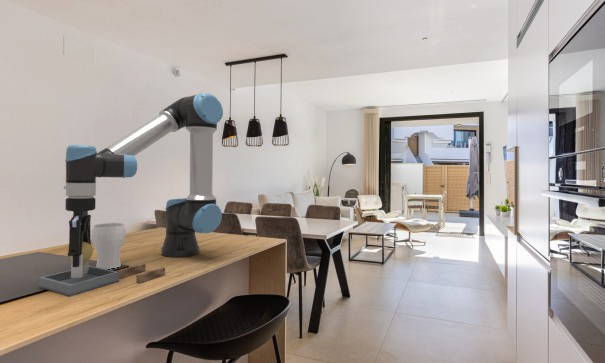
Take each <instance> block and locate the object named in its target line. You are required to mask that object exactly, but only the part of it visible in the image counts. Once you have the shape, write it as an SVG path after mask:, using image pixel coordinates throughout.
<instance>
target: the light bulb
mask: <svg viewBox="0 0 605 363" xmlns="http://www.w3.org/2000/svg"><path fill="white" fill-rule="evenodd" d="M91 246H92V245H90V244H88V243H86V242H83V243H82V254H81V255H83V275H86V274H87V272H88V271H87V269H88V268H87V266H88V264H87V262H88V261H89V262H90V259H91V258H92V256H93V253H94V248H93V246H92V247H91ZM74 251H75V250H74ZM66 253H67V258H68V260H70V262H71V256H68V254H69V248H68V249H67V252H66Z"/></svg>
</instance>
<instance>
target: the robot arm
mask: <svg viewBox="0 0 605 363" xmlns="http://www.w3.org/2000/svg"><path fill="white" fill-rule="evenodd" d="M223 114H224V109H223V105H222V103H221V102H220V100H219V99H218V98H217V97H216V96H215V95H213V94H211V93H208V92H207V93H198V94H193V95H189V96H185V97H181V98H179V99H177V100H176V101H174V102H173V103H171V104H170V105H168V106H167V107H165V108H164V109H162V110H160V111H159V114H158V116H156V117H154V118H152V119H151V120H149V121H148V122H146V123H144V124H143V125H141V126H139V127H138V128H136V129H135V130H133V131H131V132H130V133H128V134H125V135H124V136H123V137H122V138H120V139H118V140H116V141H115V142H113V143H112V144H110V145H108V146H107V147H105V148H104V149H102V150H100V151H97V148H96V146H94V145H86V144H83V145H82V144H71V145H68V146H67V148H66V152H65V185H64V186H63V189H64V190H65V196H66V197H67V198H66V199H65V211H67V212H72V217H71V218H70V219H69V221H68V225H69V226H68V227H69V228H68V229H69V234H68V249H69V254H67V257H68V256H71V261H70V270H71V278H80V277H83V255H81V254H82V243H83V242H86V243H88V244H90V245H91V244H92V240H91V233H92V229H91V219H92V215H91V214H89V212H90V211H95V209H96V206H97V204H96V198H95V196H96V195H97V194H96V193H97V178H123V179H125V178H132V177H134V176H135V175H136V174H137V171H138V161H137V159H136V157H135V156H137V155H138V154H140V153H141V152H143V151H144V150H145V149H147V148H149V147H151V145H154V144H155V143H156V142H158V141H159V140H161V139H163V138H164V137H165V136H167V135H168V134H169V133H176V132H177V131H179V130H181V129H182V128H183V129H184V128H185V129H186V130H187V131H188V132H189V194H188V195H187V197H185V198H183V197H182V198H173V199H168V200H167V201H166V204H165V205H166V206H165V236H164V240H163V245H162V247H161V248H160V249H161V250H160V253H161V256H163V257H168V258H183V257H191V256H196V255H197V254H200V245H199V244H198V240H197V237H196V236H197V235H196V233H198V234H210V233H213V232H214V231H215V230H217V228H218V227H219V226H220V224H221V222H222V219H223V214H222V213H223V212H222V209H221V208H220V206H219V205H217V198H216V196H214V194H213V168H214V167H213V163H214V162H213V161H214V160H213V158H214V157H213V153H214V152H213V151H214V150H213V146H214V137H213V136H214V133H215V132H217V130H218V123H220V121H221V120H222V119H223ZM91 247H92V248H93V246H92V245H91ZM74 250H75V251H74ZM89 262H90V260H89V261H88V262H87V264H88V266H87V268H88V269H87V271H88V270H89V266H90V264H89Z"/></svg>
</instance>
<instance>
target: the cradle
mask: <svg viewBox="0 0 605 363" xmlns="http://www.w3.org/2000/svg"><path fill="white" fill-rule="evenodd" d="M116 271H117V272H119V280H120V279H122V278H127V277H129V276H133V275H136V280H135V282H136V284H142V283H145V282H148V281H151V280H154V279H157V278H160V277H163V276H165V275H166V267H163V266H161V267H158V268H155V269H152V270H148V271H147V270H146V263H144V262H143V263H139V264H136V265H132V266H128V267H125V268H121V269H118V270H116Z"/></svg>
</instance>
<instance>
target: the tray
mask: <svg viewBox="0 0 605 363" xmlns="http://www.w3.org/2000/svg"><path fill="white" fill-rule="evenodd" d="M119 281H120V279H119V272H117V270H113V269H110V270H107V269H103V268H98V267H96V266H92V265H89V270H88V272H87V274H86V275H83V277H80V278H71V269H69V270H65V271H62V272H61V271H60V272H58V273H53V274H48V275H44V276H39V277H38V288H39V289H42V288H43V290H45V289H46V291H49V292H53V293H56V294H60V295H64V296H67V297H73V296H77V295H81V294H83V293H86V292H89V291H92V290H95V289H99V288H103V287H105V286H108V285H112V284H115V283H118V282H119Z"/></svg>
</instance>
